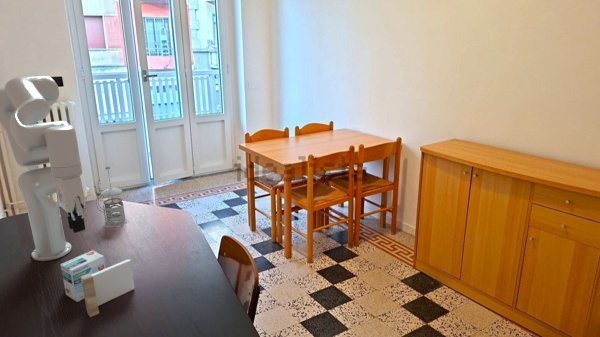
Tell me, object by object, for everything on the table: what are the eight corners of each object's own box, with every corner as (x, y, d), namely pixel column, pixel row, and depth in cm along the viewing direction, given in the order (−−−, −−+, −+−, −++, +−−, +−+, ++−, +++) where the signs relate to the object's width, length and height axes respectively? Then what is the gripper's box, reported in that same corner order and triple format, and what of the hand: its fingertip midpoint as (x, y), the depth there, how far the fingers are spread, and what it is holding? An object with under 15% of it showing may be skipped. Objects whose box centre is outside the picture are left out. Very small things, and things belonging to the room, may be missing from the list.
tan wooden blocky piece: (67, 287, 132) (60, 253, 128) (75, 284, 134) (69, 250, 130) (90, 317, 118) (83, 280, 115) (99, 313, 120) (92, 276, 116)
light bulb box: (77, 302, 125) (71, 271, 121) (65, 295, 128) (58, 264, 125) (110, 285, 133) (105, 255, 130) (97, 278, 137) (92, 249, 133)
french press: (122, 227, 172) (114, 169, 164) (94, 227, 172) (84, 169, 165) (132, 217, 182) (124, 162, 174) (105, 217, 182) (96, 162, 174)
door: (89, 310, 121) (83, 279, 118) (87, 308, 121) (81, 278, 118) (134, 288, 131) (130, 260, 128) (132, 287, 132) (128, 258, 128)
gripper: (43, 166, 121) (55, 224, 127) (61, 180, 110) (73, 243, 116) (71, 161, 126) (81, 217, 132) (91, 173, 115) (101, 234, 121)
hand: (77, 228), depth 124 cm, fingers open, 2 cm apart
